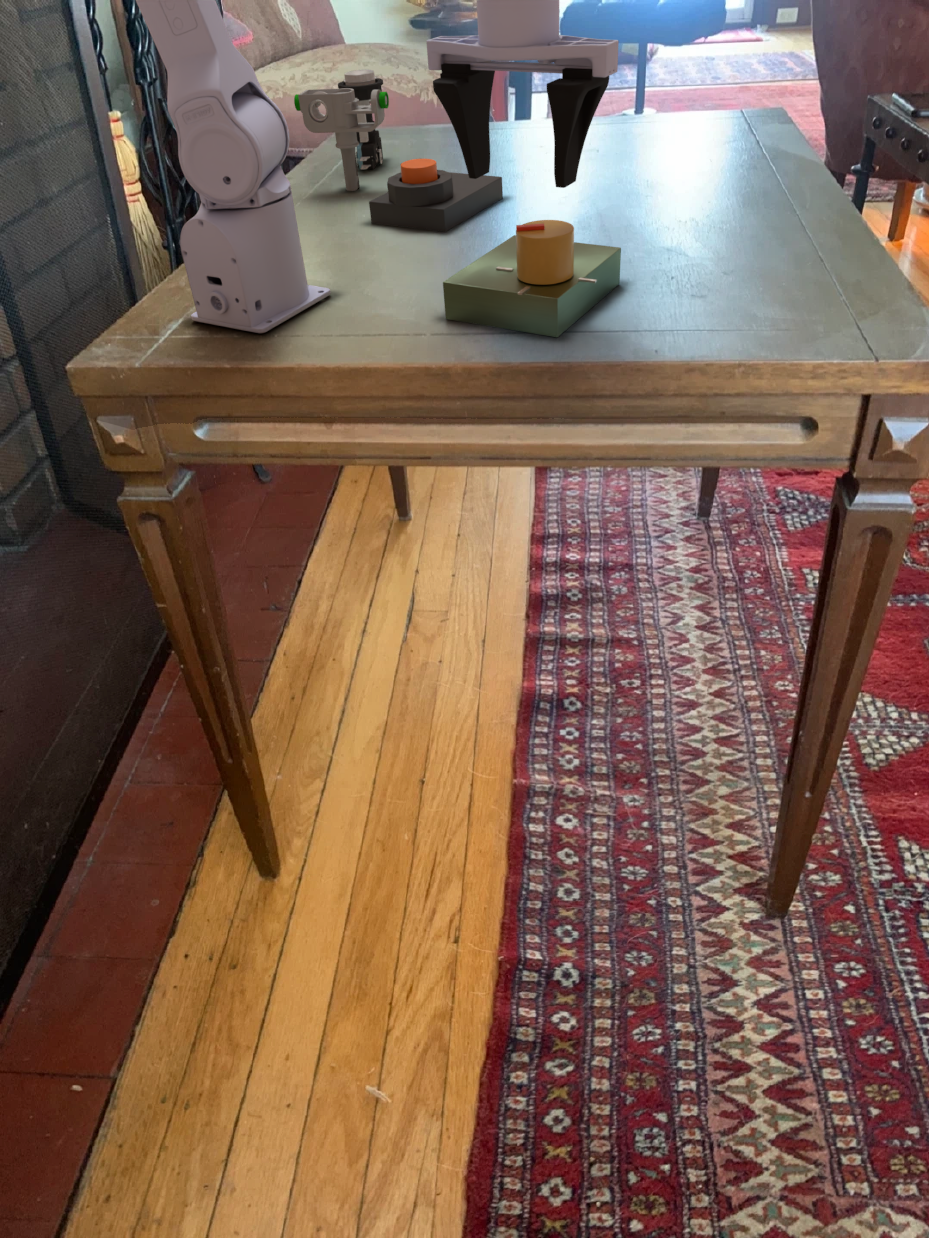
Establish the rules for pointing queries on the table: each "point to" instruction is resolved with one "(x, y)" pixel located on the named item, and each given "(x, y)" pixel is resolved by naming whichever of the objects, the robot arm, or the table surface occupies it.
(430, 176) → the button
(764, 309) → the table surface
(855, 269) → the table surface
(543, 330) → the block
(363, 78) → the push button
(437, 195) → the box
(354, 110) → the mechanical component
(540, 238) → the dial knob
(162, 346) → the table surface
